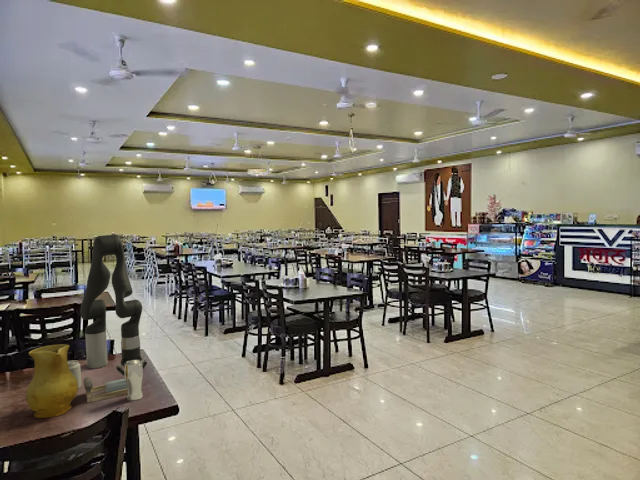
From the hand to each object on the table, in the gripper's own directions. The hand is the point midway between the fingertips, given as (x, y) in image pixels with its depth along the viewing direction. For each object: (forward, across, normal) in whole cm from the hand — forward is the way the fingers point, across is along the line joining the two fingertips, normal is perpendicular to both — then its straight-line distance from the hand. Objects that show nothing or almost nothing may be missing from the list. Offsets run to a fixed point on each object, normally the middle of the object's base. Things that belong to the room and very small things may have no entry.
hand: (132, 384), depth 186 cm
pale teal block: (+2, +6, 0) cm, 7 cm away
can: (+2, +23, -14) cm, 27 cm away
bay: (+1, +10, 0) cm, 10 cm away
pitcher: (+2, +29, +4) cm, 30 cm away
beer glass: (+2, +1, +11) cm, 11 cm away
